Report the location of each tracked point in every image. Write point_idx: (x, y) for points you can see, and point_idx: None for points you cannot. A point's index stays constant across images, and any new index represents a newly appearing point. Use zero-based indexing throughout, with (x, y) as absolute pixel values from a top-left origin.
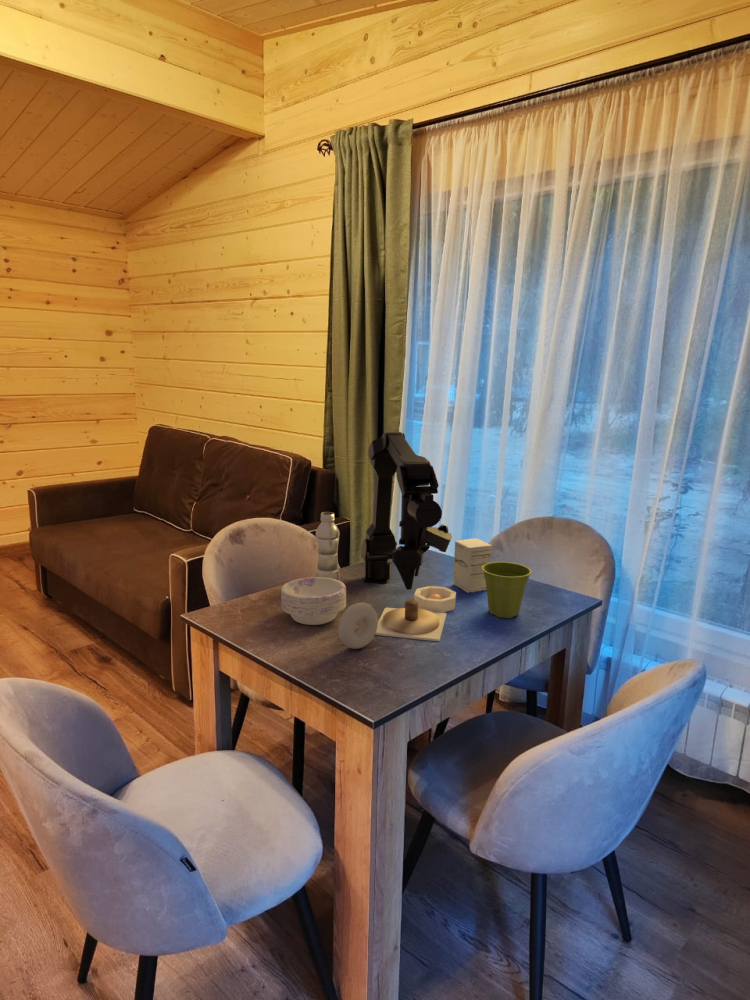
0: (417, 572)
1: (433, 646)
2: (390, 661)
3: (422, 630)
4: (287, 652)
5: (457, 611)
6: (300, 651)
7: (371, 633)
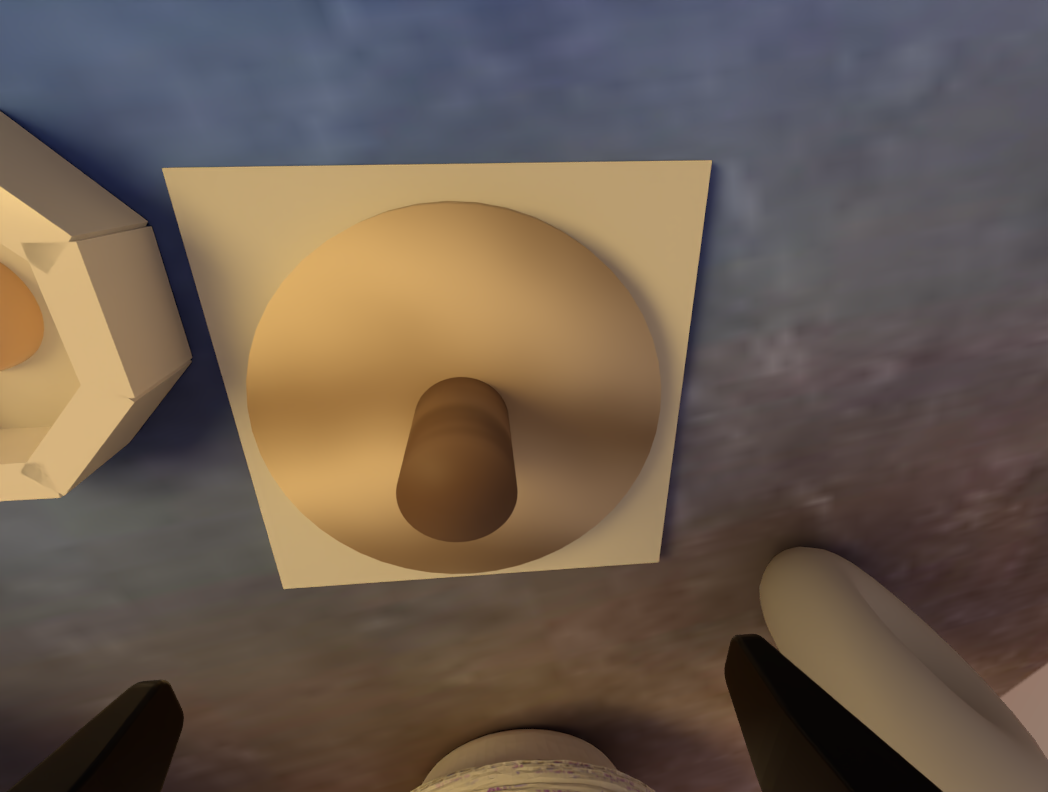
0: (128, 742)
1: (784, 193)
2: (966, 404)
3: (638, 308)
4: None
5: (15, 64)
6: None
7: (850, 577)
